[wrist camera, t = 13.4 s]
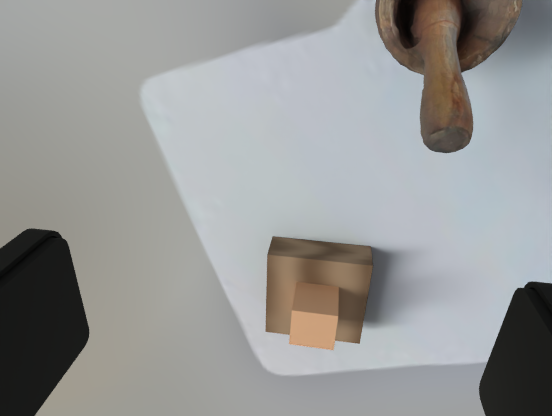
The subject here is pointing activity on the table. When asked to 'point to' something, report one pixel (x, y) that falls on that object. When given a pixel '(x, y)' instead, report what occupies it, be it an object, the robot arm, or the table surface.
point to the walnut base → (318, 281)
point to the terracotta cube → (314, 315)
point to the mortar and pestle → (445, 55)
